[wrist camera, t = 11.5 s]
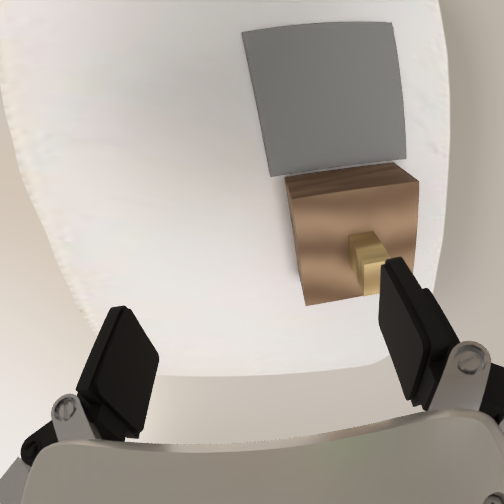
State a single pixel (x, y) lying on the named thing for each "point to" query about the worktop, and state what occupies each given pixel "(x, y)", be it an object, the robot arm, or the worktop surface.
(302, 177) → the square lid with knob
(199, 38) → the worktop surface
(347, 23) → the rubber mat
